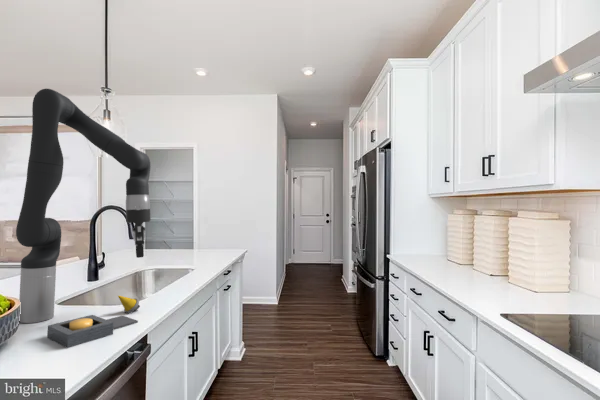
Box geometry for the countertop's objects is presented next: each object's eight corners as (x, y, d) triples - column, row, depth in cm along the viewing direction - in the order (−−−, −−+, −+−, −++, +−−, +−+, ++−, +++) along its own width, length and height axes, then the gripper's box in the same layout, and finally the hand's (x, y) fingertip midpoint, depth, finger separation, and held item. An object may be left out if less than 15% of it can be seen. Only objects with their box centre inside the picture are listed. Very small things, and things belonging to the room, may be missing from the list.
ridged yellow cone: (142, 314, 118) (121, 299, 113) (129, 319, 119) (109, 304, 114) (146, 302, 123) (126, 286, 117) (134, 307, 124) (114, 292, 118)
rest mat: (94, 324, 106) (94, 322, 106) (122, 317, 113) (122, 315, 113) (109, 330, 101) (110, 328, 101) (137, 322, 109) (137, 320, 109)
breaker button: (65, 330, 96) (65, 322, 96) (86, 325, 100) (86, 317, 100) (75, 334, 93) (75, 326, 93) (96, 329, 97) (96, 320, 97)
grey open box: (47, 337, 94) (47, 325, 95) (91, 325, 105) (92, 314, 105) (67, 348, 88) (67, 334, 88) (112, 334, 98) (113, 322, 98)
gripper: (126, 209, 119) (127, 254, 119) (125, 208, 106) (127, 259, 106) (149, 208, 122) (150, 252, 122) (151, 207, 110) (152, 257, 109)
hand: (139, 255), depth 114 cm, fingers open, 8 cm apart
